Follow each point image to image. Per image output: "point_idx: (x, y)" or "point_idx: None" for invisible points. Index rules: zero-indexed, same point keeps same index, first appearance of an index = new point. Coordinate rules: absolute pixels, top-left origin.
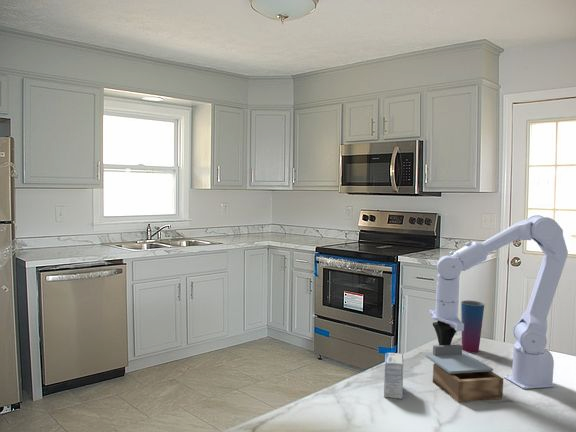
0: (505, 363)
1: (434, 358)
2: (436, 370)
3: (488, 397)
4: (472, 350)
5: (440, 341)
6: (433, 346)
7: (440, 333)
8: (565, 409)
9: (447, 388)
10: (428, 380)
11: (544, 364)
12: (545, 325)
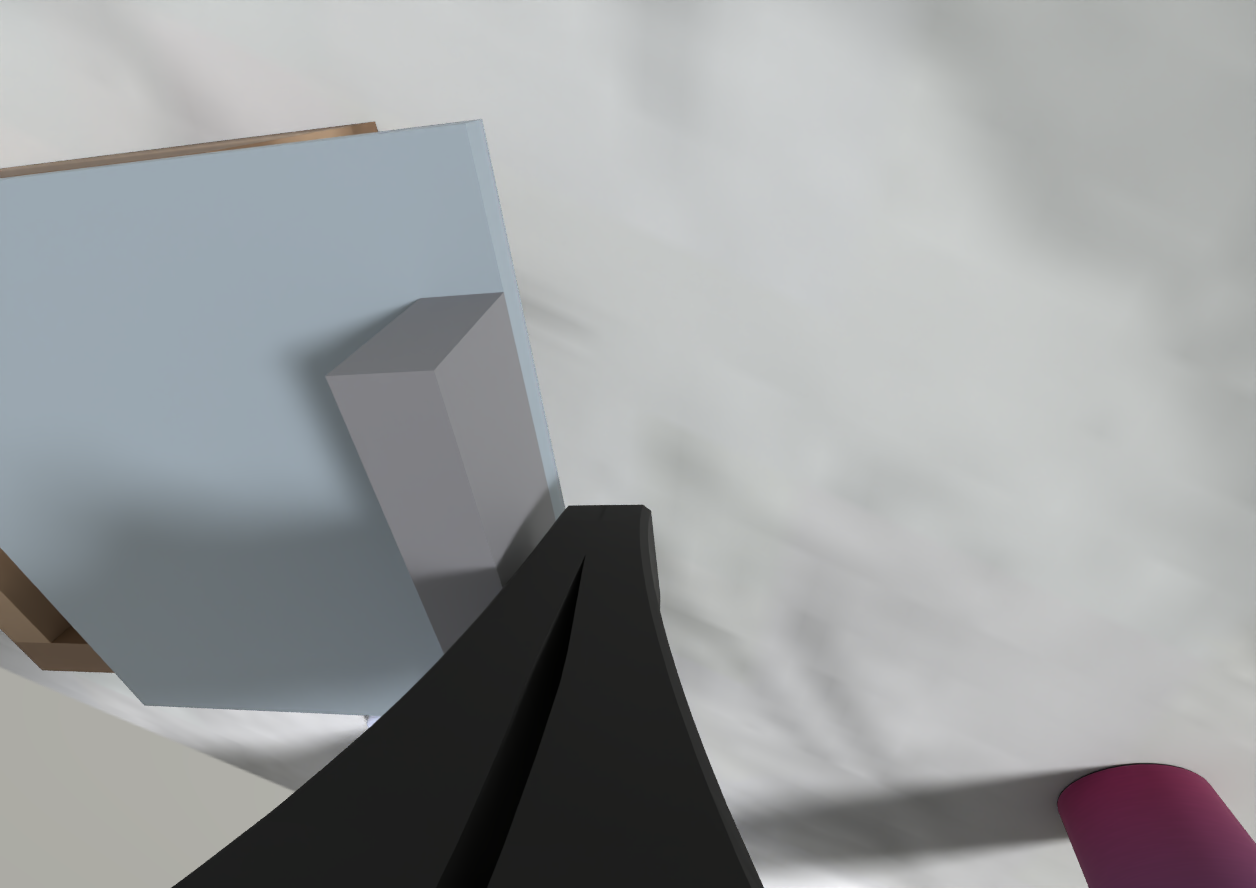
0: (792, 823)
1: (263, 222)
2: (173, 153)
3: None
4: (1076, 803)
5: (537, 607)
6: (425, 364)
7: (357, 818)
8: (164, 724)
9: (29, 166)
10: (430, 88)
11: None
12: None
